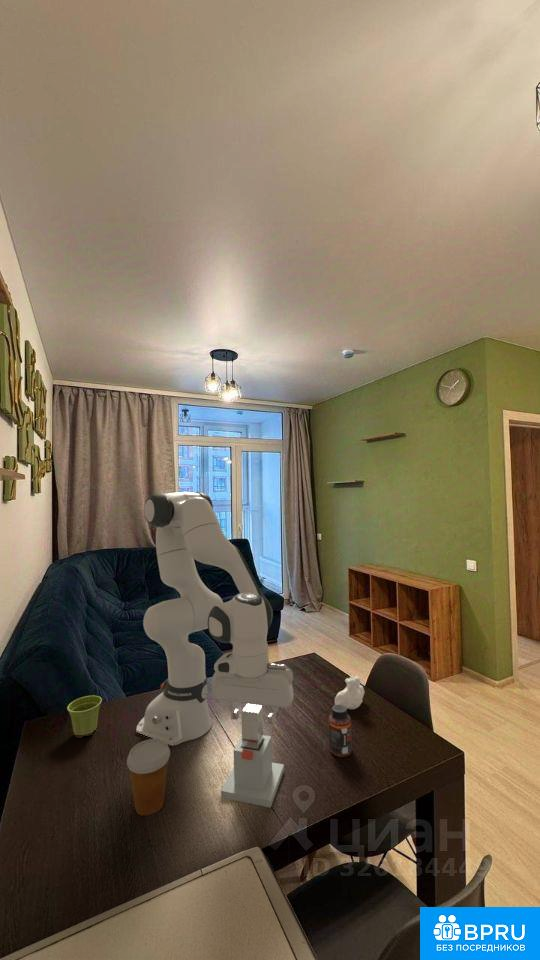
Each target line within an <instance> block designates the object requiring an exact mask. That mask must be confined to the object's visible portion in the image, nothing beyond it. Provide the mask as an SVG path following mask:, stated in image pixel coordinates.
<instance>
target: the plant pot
mask: <svg viewBox="0 0 540 960" xmlns="http://www.w3.org/2000/svg"><path fill="white" fill-rule="evenodd" d="M102 701H103V699H102V697H101V696H100V695H99V696H98V695H86V696H82V697H79V698H76V699H75V700H73V701H71V702H70V703H69V704H68V705H67V707H66V709H67V712H68V713H69V716H70V719H71V725H72V732H74V733H73V735H74V734H75V735H86V734H89V733H92V732H93V731H94V730H96V731H97V729H96V728H97V727H98V718H99V711H100V707H101V703H102Z"/></svg>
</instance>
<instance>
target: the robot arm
mask: <svg viewBox="0 0 540 960" xmlns="http://www.w3.org/2000/svg"><path fill="white" fill-rule="evenodd" d="M211 499H212V498H211V497H210V495H208V494H207V493H203V492H200V491H199V492H198V491H196V492H192V491H176V492H175V491H173V492H165V493H162V492H158V493H154V494H151V495H149V496H148V497H147V499H146V500H145V502H144V505H143V506H144V507H143V513H144V514H143V515H144V519H145V521H146V522H147V523H148V525H149V526H151V527H154V528H156V530H155V548H156V549H155V550H156V558H157V564H158V571H159V576H160V580H161V582H162V583H163V584H165V585H166V586H168V587H170V588H174V589H175V590H176V591H177V592H178V593H179V596H180V597H177V598H172V599H167V600H163V601H160V602H159V603H156V604H154V605H151V606H150V607H148V608H147V610H146V611H145V613H144V616H143V625H142V626H143V630H144V632H145V634H146V636H147V637H148V638H149V639H151V640H152V641H154V642H156V643H157V644H159V646H161V648H162V649H163V650H164V652H165V653H164V654H165V656H166V662H167V674H168V676H167V677H168V678H166V679H165V680H164V682H163V683H162V684H160V690H162V689H163V691H162V692H161V693H159V694H158V695H157V696H155V698H153V699H152V700H151V702H150V703H149V704H148V705H147V707H146V709H145V712H144V717H142V719H140V721H139V722H138V724H137V725H136V727H135V728H136V729H135V730H136V731H135V732H138V733H140V734H143V735H145V736H148V737H151V738H153V739H161V740H163V741H165V742H166V743H167V744H169V745H168V746H170V745H171V746H172V747H174V745H175V746H178V745H179V744H181V743H184V742H189V741H192V740H195V739H198V738H200V737H202V736H204V735H205V734H207V733H208V732H209V731H210V729H211V728H212V725H213V723H212V718H211V716H210V715H211V714H210V710H209V706H208V705H209V704H208V699H207V697H208V679H207V678H208V677H207V675H206V654H205V652H204V649H203V648H201V646H199V645H198V644H195V643H191V642H190V641H189V635H190V634H192V633H196V632H201V631H204V630H207V629H208V633H209V635H210V636H211V638H212V639H214V640H215V641H216V642H219V643H223V644H229V643H230V644H231V645H232V651H230V652H226V653H224V654H222V656H220V657H219V658H218V659H217V660H216V662H215V663H213V665H214V666H213V670H214V671H215V672H214V674H212V677H211V678H212V679H211V696H212V697H213V699H214V700H216V701H223V702H225V705H226V707H227V709H228V710H229V713H230V720H238V719H239V718H240V709H239V708H236V706H235V704H234V703H240V704H253V705H260V706H268V707H271V710H272V711H273V712H269V713H268V715H267V724H269V725H275V723H276V720H277V717H276V714H277V712H278V710H279V708H286V709H287V708H289V707H290V706H291V705H292V704H293V701H294V688H293V681H294V673H293V669H291V668H290V667H288V666H287V664H283V663H282V664H276V663H270V657H269V656H270V654H269V652H270V651H269V650H270V649H269V645H268V641H267V636H268V630H269V628H270V626H271V624H272V622H273V617H274V613H273V612H274V611H273V608H272V606H271V603H270V602H269V600H268V599H267V598H266V596H265V594H264V593H263V592H262V590H261V588H260V586H259V585H258V583H257V581H256V579H255V577H254V575H253V573H252V570H251V569H250V567H249V565H248V563H247V561H246V559H245V557H244V556H243V554H242V553H241V551H240V548H238V547H237V546H236V545H235V544H232V542H230V540H229V539H228V538H227V536H226V535H225V534H224V531H223V530H222V527H221V524H220V522H219V520H218V517H217V515H216V513H215V510H214V504H213V502H212V500H211ZM195 560H196V561H197V562H199V563H201V564H205V565H210V566H214V567H218V568H220V569H222V570H224V571H226V572H227V573H228V574H229V575H230V576H231V577H232V580H233V582H234V584H235V586H236V588H237V590H238V591H239V593H237V594H236V595H234V597H232V599H230V600H229V601H225V602H224V601H223V599H222V598H221V596H220V595H219V594H218V593H215V592H213V591H212V590H210V589H209V588H208V587H207V586H206V584H205V583H204V582H203V580H202V578H201V577H200V575H199V572H198V570H197V567H196V563H195ZM145 736H144V737H145ZM148 737H147V738H148ZM151 738H150V739H151ZM171 746H170V747H171Z"/></svg>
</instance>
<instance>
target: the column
mask: <svg viewBox="0 0 540 960" xmlns="http://www.w3.org/2000/svg"><path fill="white" fill-rule="evenodd" d="M240 713H241V737H242V748H244V749H250V750H256V751H259V750H260V748H261V746H262V744H263V735H264V720H263V705H258V704H249V703H246V704H245V706H244V707H243V709H242V711H241V712H240Z"/></svg>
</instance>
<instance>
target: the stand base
mask: <svg viewBox="0 0 540 960" xmlns="http://www.w3.org/2000/svg"><path fill="white" fill-rule="evenodd" d="M272 750H273V749H272V736H270V735H264V734H263V744H262V746H261V748H260V750H259V751H256V750H250V749H244V748H242V736H241V737H240V738H239V740H238V741H237V744H236V745H235V747H234V749H233V768H232V770H231V772H230V774H229V775H228V777H227V779H226V781H225V782H224V783H223V786H222V787H221V788H222V789H221V790H220V798H223V799H228V800H232V801H236V802H242V803H245V804H250V805H255V806H256V805H257V806H262V807H265V808H272V806H273V803H274V799H275V797H276V794H277V792H278V789H279V785H280V783H281V780H282V778H283V776H284V771H285V764H284V763H283V764H282V763H277V762H273V754H272V753H273V751H272Z"/></svg>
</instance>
